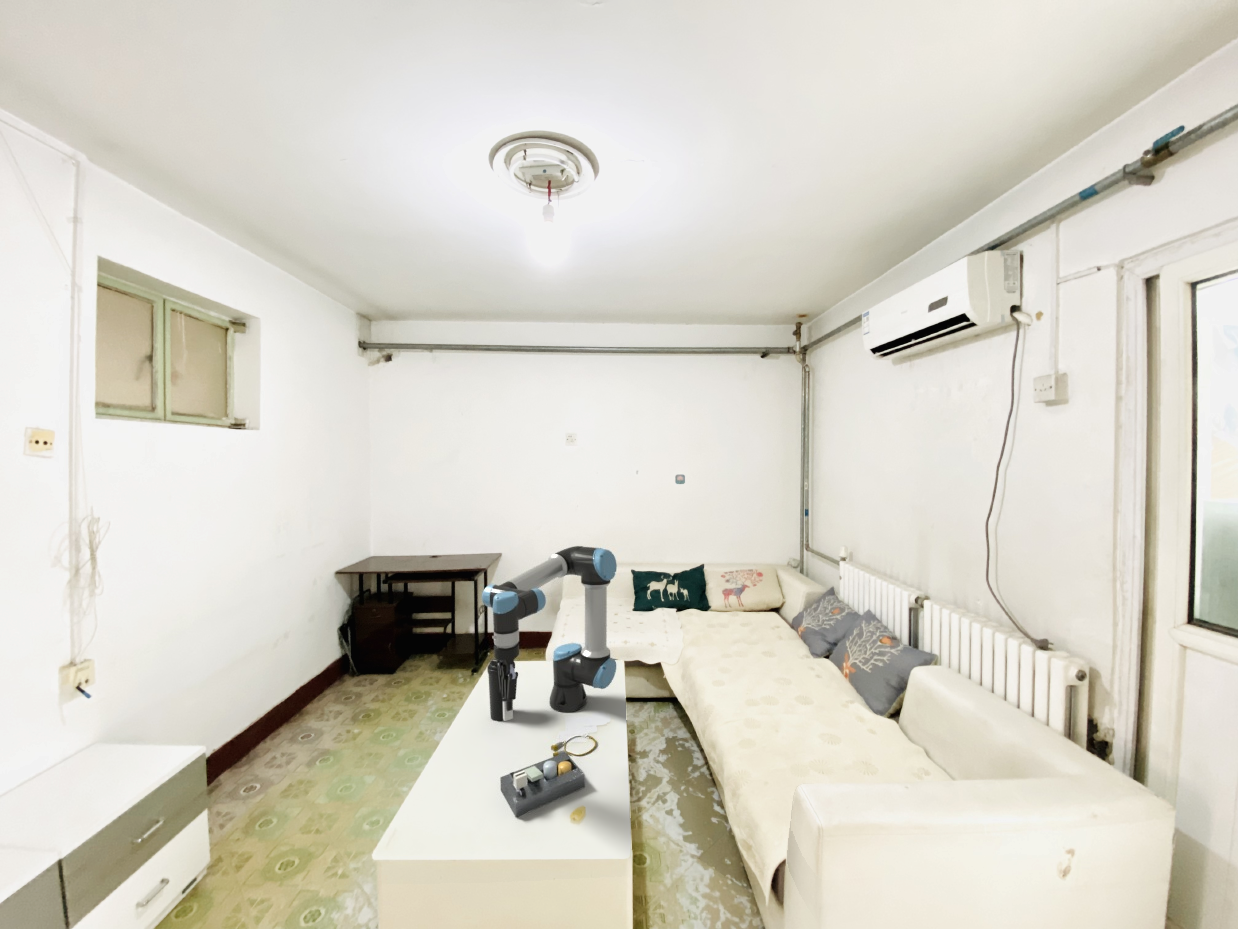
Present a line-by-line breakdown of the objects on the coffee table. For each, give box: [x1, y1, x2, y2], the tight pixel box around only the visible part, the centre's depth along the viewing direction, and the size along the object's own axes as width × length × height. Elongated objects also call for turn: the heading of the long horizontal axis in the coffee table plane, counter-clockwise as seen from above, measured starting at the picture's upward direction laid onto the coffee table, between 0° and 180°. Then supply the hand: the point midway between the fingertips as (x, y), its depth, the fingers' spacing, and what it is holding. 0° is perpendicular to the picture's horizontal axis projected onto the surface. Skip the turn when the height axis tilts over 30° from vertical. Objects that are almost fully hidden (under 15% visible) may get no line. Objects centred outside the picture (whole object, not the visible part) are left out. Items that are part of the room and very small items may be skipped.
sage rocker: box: [524, 766, 543, 782], centre depth 144 cm, size 4×7×1 cm, turn 32°
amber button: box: [558, 761, 571, 776], centre depth 149 cm, size 4×4×4 cm
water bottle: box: [486, 658, 505, 722], centre depth 186 cm, size 10×10×23 cm
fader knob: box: [513, 770, 527, 790], centre depth 139 cm, size 3×2×3 cm
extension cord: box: [550, 734, 597, 757], centre depth 166 cm, size 12×16×2 cm
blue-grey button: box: [543, 761, 557, 781], centre depth 147 cm, size 4×4×4 cm
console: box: [499, 752, 586, 818], centre depth 145 cm, size 22×13×5 cm, turn 122°
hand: (508, 718), depth 148 cm, fingers closed
